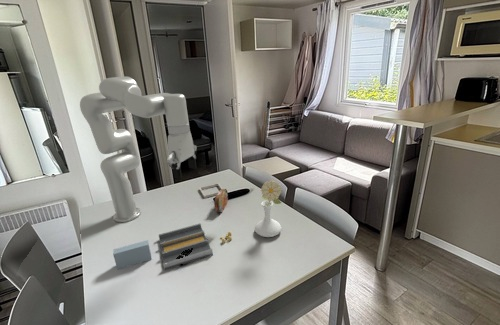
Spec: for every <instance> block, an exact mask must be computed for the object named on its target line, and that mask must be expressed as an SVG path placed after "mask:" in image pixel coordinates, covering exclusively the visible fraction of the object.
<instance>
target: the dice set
mask: <svg viewBox="0 0 500 325" xmlns="http://www.w3.org/2000/svg"><path fill="white" fill-rule="evenodd" d="M219 239H220V240H221V242H222V244H225V243H226V239H227V241H228V242H231V241H232V240H233V238H232V232H231V231H227V234H226V233H225V237H224V236H222V235H221V236H220V237H219Z"/></svg>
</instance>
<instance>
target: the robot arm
mask: <svg viewBox="0 0 500 325" xmlns="http://www.w3.org/2000/svg"><path fill="white" fill-rule="evenodd" d="M98 90H99V92H94V93H89V94H87V95H84V96H82V97H81V99H80V101H79V110H80V111H81V114H82V116H83V118H84V119H85V120H86V122H87V123H88V125H89V128H90V131H91V133H92V136H93V139H94V141H95V142H94V143H95V145H96V147H97V150H98V151H99V152H100V153H101V154H102V155H110V154H113V153H116V152H119V151H122V152H120V153H116V154H113V155H111V156H108V157H106V158H104V159H103V160H102V161H101V162H100V170H101V172H102V174H103V176H104V178H105V181H106V184H107V186H108V187H107V188H108V189H109V190H108V191H109V193H110V197H111V200H112V205H113V208H114V215H113V216H112V217H113V221H114V222H115V223H126V222H131V221H133V220H135V219H136V218H138V217H139V216H140V215H141V212H142V211H141V209H140V208H138V207H137V205H136V201H135V197H134V193H133V188H132V184H131V180H130V179H128V178H127V177H126V176H125V175H124V174H125V173H128V172H130V171H132V170H135V169H136V168H138V167H139V166H140V161H141V159H140V156H139V152H138V149H137V146H136V143H135V140H134V136H133V135H132V134H131V132H130V131H129V130H127V129H125V128H118V129H114V127H113V124H112V122H111V120H110V118H108V117H107V116H106V115H104V113H112V112H115V111H116V112H117V111H121V110H123V109H126V111H127V112H128V113H130V114H132V115H133V116H137V117H140V118H144V119H150V118H151V119H152V118H154V117H158V116H162V115H165V119H166V124H167V130H168V131H167V132H168V135H167V150H168V151H167V152H168V158H167V159H166V163H167V164H168V166H169V167H170V168H171V169H172V174H173V177H174V179H179V180H181V179H183V174H182V169H181V163H182V162H184V161H187V163H188V168H189V169H193V170H197V161H196V160H197V156H196V155H197V146H198V145H195V144H194V140H193V137H192V133H191V129H190V128H191V127H190V122H189V114H188V109H187V107H188V106H187V100H186V96H185V95H184V94H182V93H169V92H160V93H154V94H147V95H142V94H143V93H142V91H141V87H139V86H138V83H137V82H136V80H135V79H133V78H132V77H131V76H115V77H114V76H113V77H107V78H104V79H103V80H101V82H100V83H99V86H98Z"/></svg>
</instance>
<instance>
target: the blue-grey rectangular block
mask: <svg viewBox="0 0 500 325" xmlns="http://www.w3.org/2000/svg"><path fill="white" fill-rule="evenodd" d="M112 255H113V258H114V263H115V266H116V268H117V270H121V269H123V268H128V267H130V266H133V265H138V264H140V263H144V262H147V261H151V260H153V259H152V252H151V248H150V245H149V240H148V239H146V240H143V241H139V242H135V243H131V244H128V245H125V246H121V247H118V248H114V249H113V251H112Z"/></svg>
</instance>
